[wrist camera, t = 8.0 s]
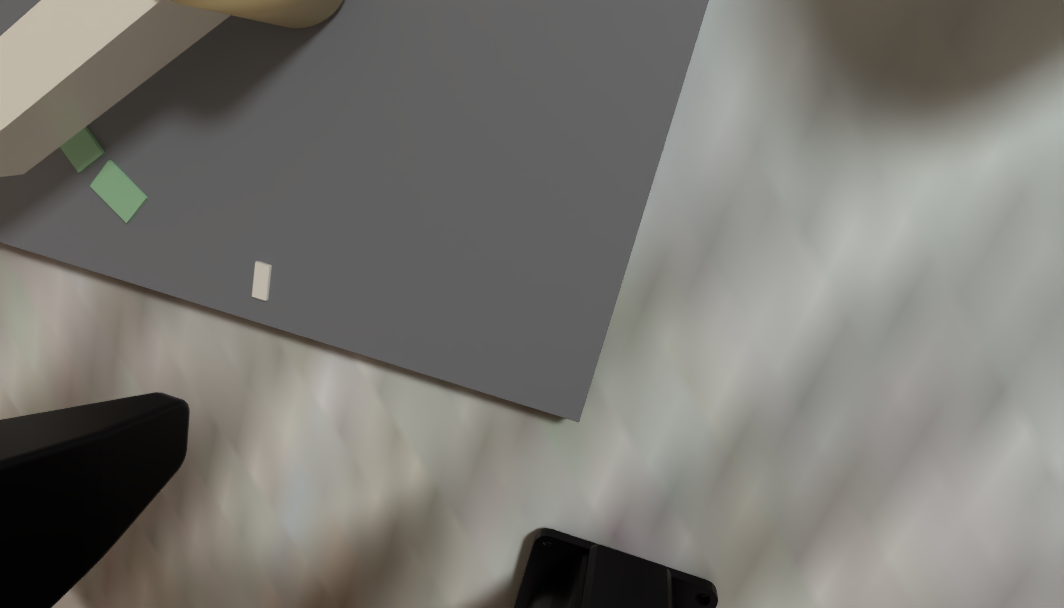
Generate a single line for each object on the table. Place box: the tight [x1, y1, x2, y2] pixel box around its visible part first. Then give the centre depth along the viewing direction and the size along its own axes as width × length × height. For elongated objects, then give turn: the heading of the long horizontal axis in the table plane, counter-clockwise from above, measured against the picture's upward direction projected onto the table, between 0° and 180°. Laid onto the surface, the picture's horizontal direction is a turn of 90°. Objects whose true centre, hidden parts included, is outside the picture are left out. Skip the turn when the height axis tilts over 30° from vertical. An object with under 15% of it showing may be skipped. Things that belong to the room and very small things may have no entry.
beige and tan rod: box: [0, 0, 343, 177], centre depth 16 cm, size 12×4×4 cm, turn 119°
